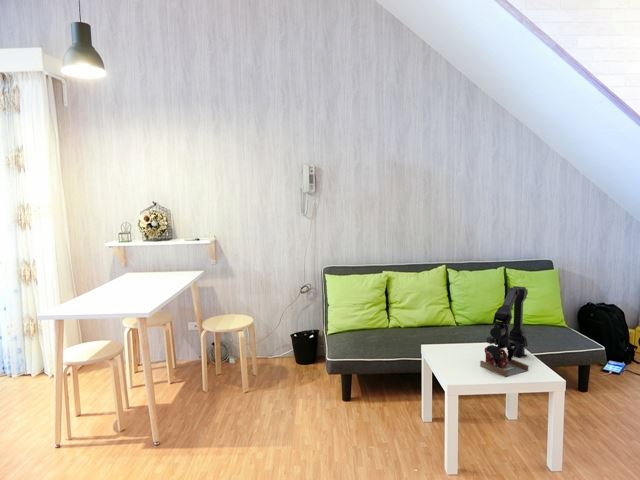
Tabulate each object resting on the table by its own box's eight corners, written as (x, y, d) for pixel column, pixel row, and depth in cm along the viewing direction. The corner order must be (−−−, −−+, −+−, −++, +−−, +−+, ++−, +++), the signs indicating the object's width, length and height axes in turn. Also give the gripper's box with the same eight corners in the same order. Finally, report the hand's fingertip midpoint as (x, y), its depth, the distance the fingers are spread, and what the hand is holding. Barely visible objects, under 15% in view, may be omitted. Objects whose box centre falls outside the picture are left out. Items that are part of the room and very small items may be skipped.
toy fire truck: (510, 367, 237) (510, 348, 237) (488, 368, 237) (487, 349, 236) (504, 363, 244) (504, 344, 244) (482, 364, 244) (482, 345, 243)
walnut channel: (502, 360, 248) (502, 355, 248) (528, 370, 233) (528, 365, 233) (480, 366, 241) (480, 360, 241) (505, 377, 226) (505, 371, 225)
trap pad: (516, 367, 238) (516, 367, 237) (526, 371, 232) (526, 370, 232) (498, 372, 232) (498, 371, 232) (507, 376, 226) (507, 375, 226)
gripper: (503, 327, 247) (503, 355, 249) (478, 333, 239) (478, 361, 241) (520, 332, 237) (520, 361, 239) (494, 338, 229) (495, 368, 231)
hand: (503, 362), depth 237 cm, fingers open, 9 cm apart
